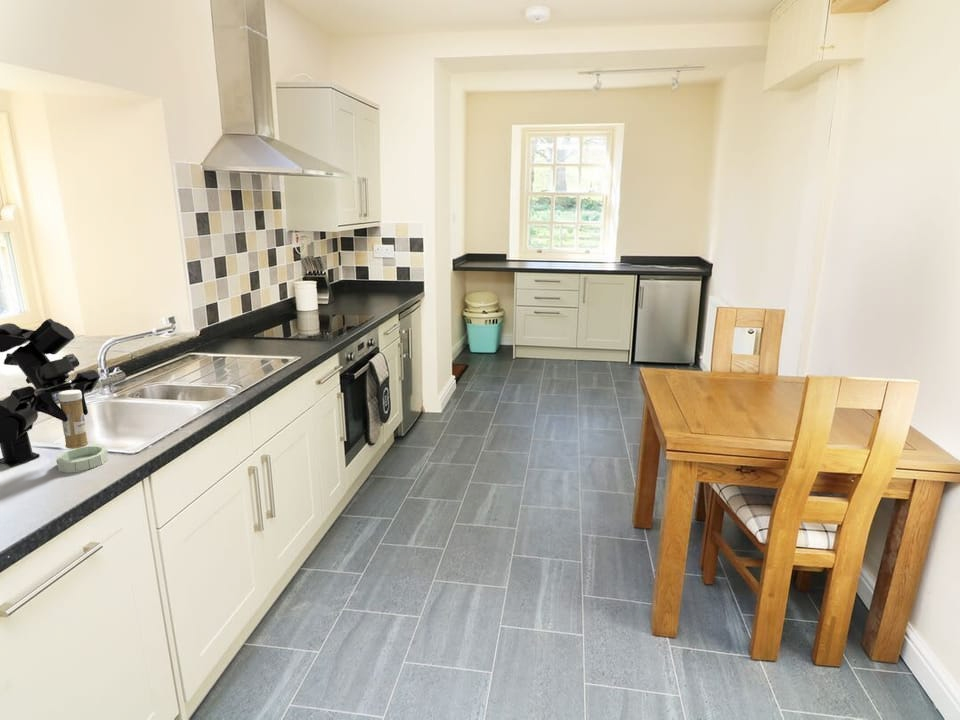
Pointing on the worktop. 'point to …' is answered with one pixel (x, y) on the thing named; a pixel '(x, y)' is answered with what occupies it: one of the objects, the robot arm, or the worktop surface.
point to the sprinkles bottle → (73, 418)
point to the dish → (82, 458)
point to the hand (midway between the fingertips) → (76, 417)
